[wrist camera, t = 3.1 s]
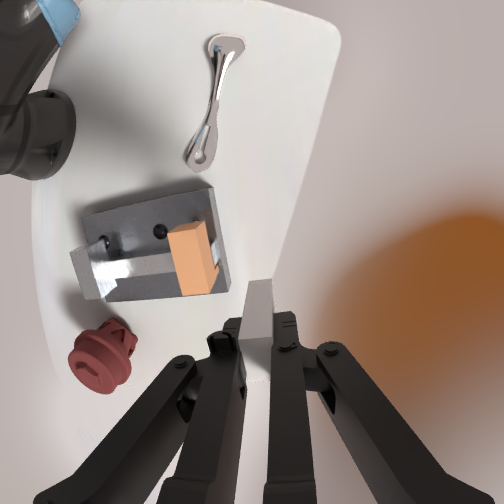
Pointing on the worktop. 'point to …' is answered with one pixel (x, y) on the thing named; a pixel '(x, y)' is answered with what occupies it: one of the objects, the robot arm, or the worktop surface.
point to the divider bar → (117, 266)
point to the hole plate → (156, 240)
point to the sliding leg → (193, 258)
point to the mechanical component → (103, 356)
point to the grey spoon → (215, 96)
